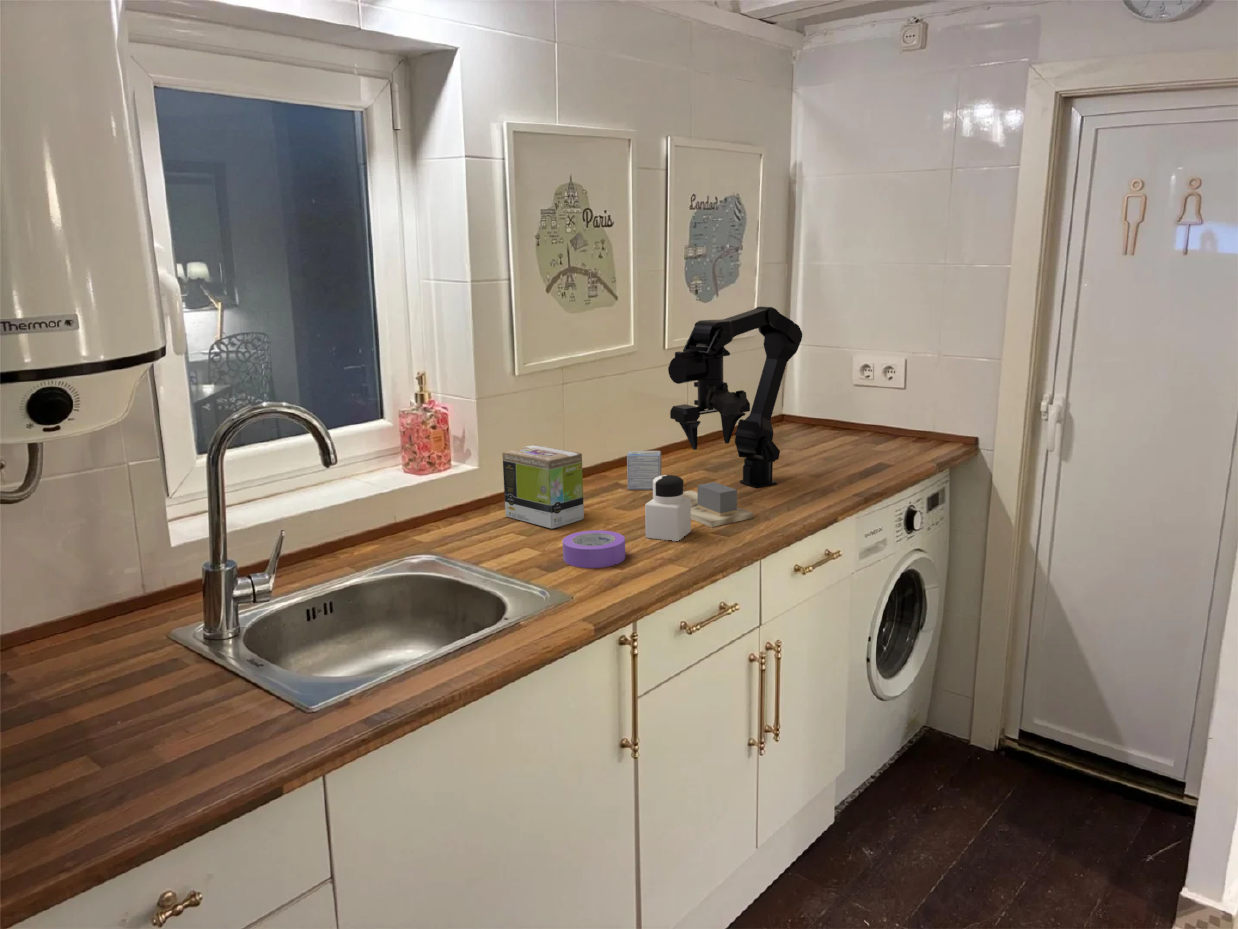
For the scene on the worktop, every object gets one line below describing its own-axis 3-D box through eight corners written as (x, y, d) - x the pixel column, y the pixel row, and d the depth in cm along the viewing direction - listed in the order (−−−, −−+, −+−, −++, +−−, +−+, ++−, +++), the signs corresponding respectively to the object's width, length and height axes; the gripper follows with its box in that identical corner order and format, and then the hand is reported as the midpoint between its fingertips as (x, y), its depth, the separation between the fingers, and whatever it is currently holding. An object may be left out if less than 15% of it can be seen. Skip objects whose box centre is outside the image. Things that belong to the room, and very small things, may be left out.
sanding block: (713, 504, 205) (714, 481, 204) (736, 512, 199) (737, 489, 197) (697, 507, 203) (697, 485, 202) (720, 516, 196) (720, 493, 195)
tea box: (585, 519, 200) (583, 451, 197) (551, 530, 193) (548, 460, 190) (538, 507, 210) (535, 442, 207) (503, 517, 203) (500, 450, 200)
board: (691, 495, 217) (691, 490, 217) (753, 518, 199) (753, 512, 198) (651, 503, 211) (651, 498, 211) (711, 527, 193) (711, 521, 193)
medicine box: (661, 485, 226) (661, 450, 224) (660, 490, 222) (660, 454, 220) (629, 485, 227) (628, 450, 225) (627, 490, 223) (626, 454, 220)
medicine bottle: (691, 531, 190) (691, 474, 188) (678, 542, 184) (678, 483, 181) (658, 528, 193) (658, 471, 191) (645, 538, 187) (644, 479, 184)
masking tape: (554, 553, 180) (554, 534, 179) (611, 545, 184) (610, 526, 183) (575, 573, 169) (575, 552, 168) (635, 563, 174) (634, 543, 173)
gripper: (699, 387, 197) (700, 459, 201) (766, 377, 207) (766, 446, 211) (668, 381, 206) (669, 450, 210) (733, 371, 216) (734, 438, 220)
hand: (710, 446), depth 213 cm, fingers open, 9 cm apart
